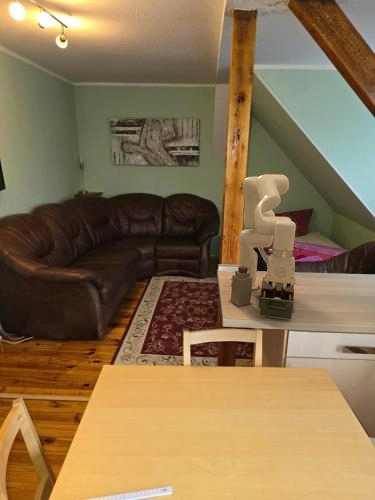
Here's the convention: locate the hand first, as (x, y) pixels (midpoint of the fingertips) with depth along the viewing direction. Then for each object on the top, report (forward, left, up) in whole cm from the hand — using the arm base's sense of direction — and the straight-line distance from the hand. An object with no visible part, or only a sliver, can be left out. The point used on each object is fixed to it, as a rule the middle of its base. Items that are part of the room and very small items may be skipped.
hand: (277, 296), depth 132 cm
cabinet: (0, +27, -15) cm, 31 cm away
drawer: (0, +15, -14) cm, 20 cm away
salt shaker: (0, +16, -13) cm, 20 cm away
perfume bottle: (-17, +23, -15) cm, 32 cm away
